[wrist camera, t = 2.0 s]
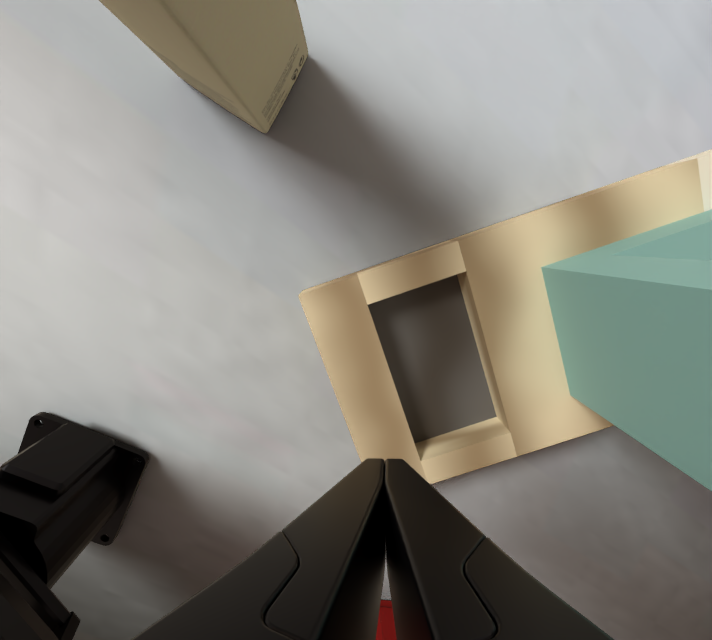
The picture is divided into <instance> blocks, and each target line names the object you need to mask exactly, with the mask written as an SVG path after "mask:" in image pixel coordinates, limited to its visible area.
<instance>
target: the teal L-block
mask: <svg viewBox="0 0 712 640" xmlns="http://www.w3.org/2000/svg"><path fill="white" fill-rule="evenodd" d="M541 269H542V273H543V278H544V282H545V287H546V291H547V295H548V300H549V304H550V308H551V313H552V317H553V322H554V326H555V330H556V335H557V339H558V343H559V348H560V352H561V357H562V361H563V365H564V370H565V374H566V378H567V383H568V387H569V392H570V395H571V396H572V397H574V398H575V399H577V400H578V401H580V402H581V403H583V404H584V405H585V406H587V407H588V408H590V409H591V410H593V411H594V412H596V413H597V414H599V415H600V416H602V417H603V418H605V419H606V420H607V421H609V422H610V423H612V424H613V425H615V426H616V427H618V428H619V429H621V430H622V431H624V432H625V433H627V434H628V435H630V436H631V437H632V438H634V439H635V440H637V441H638V442H640V443H641V444H643V445H644V446H646V447H647V448H649V449H650V450H652V451H653V452H655V453H656V454H657V455H659V456H660V457H662V458H663V459H665V460H666V461H668V462H669V463H671V464H672V465H674V466H675V467H677V468H678V469H680V470H681V471H682V472H684V473H685V474H687V475H688V476H690V477H691V478H693V479H694V480H696V481H697V482H699V483H700V484H702V485H703V486H704V487H706V488H707V489H709V490H710V491H712V209H711V210H708V211H705V212H702V213H699V214H696V215H693V216H690V217H688V218H685V219H682V220H679V221H676V222H673V223H670V224H667V225H664V226H661V227H658V228H655V229H652V230H649V231H646V232H643V233H640V234H637V235H634V236H631V237H629V238H626V239H623V240H620V241H617V242H614V243H611V244H608V245H605V246H602V247H599V248H596V249H593V250H590V251H587V252H584V253H581V254H578V255H575V256H572V257H570V258H567V259H564V260H561V261H558V262H555V263H552V264H549V265H546V266H543V267H541Z"/></svg>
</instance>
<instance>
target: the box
mask: <svg viewBox="0 0 712 640" xmlns="http://www.w3.org/2000/svg"><path fill="white" fill-rule="evenodd" d="M99 1H100V2H101V3H102V4H103V5H104V6H105V7H106V8H108V9H109V10H110V11H111V12H112V13H113V14H114V15H115V16H116V17H117V18H118V19H119V20H120V21H121V22H122V23H123V24H124V25H125V26H127V27H128V28H129V29H130V30H131V31H132V32H133V33H134V34H135V35H136V36H137V37H138V38H139V39H140V40H141V41H142V42H143V43H144V44H145V45H146V46H147V47H149V48H150V49H151V50H152V51H153V52H154V53H155V54H156V55H157V56H158V57H159V58H160V59H161V60H162V61H163V62H164V63H165V64H166V65H167V66H168V67H169V68H170V69H171V70H172V71H174V72H175V73H176V74H177V75H178V76H179V77H180V78H182V79H183V80H184V81H186V82H187V83H188V84H190V85H191V86H193V87H194V88H195V89H197V90H198V91H200V92H201V93H202V94H204V95H205V96H207V97H208V98H210V99H211V100H213V101H214V102H216V103H217V104H219V105H220V106H222V107H223V108H225V109H226V110H228V111H229V112H231V113H232V114H234V115H235V116H237V117H239V118H240V119H242V120H243V121H245V122H246V123H248V124H249V125H251V126H253V127H254V128H256V129H257V130H259V131H261V132H262V133H267V132H268V131H269V129H270V127H271V125H272V123H273V122H274V120H275V118H276V116H277V115H278V113H279V111H280V109H281V107H282V105H283V103H284V102H285V100H286V98H287V96H288V94H289V92H290V90H291V88H292V86H293V84H294V82H295V81H296V79H297V77H298V75H299V73H300V71H301V69H302V66H303V64H304V62H305V60H306V58H307V56H308V48H307V44H306V39H305V35H304V31H303V27H302V22H301V18H300V14H299V10H298V6H297V2H296V0H99Z"/></svg>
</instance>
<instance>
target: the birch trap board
mask: <svg viewBox="0 0 712 640" xmlns="http://www.w3.org/2000/svg"><path fill="white" fill-rule="evenodd" d="M702 212H704V206H703V199H702V191H701V183H700V175H699V167H698V160H697V158H696V159H692V160H688V161H684V162H679V163H675V164H671V165H667V166H662V167H659V168H656V169H653V170H650V171H647V172H644V173H642V174H639V175H636V176H633V177H630V178H627V179H624V180H621V181H618V182H615V183H613V184H610V185H607V186H604V187H601V188H598V189H595V190H592V191H589V192H586V193H584V194H581V195H578V196H575V197H572V198H569V199H566V200H563V201H560V202H557V203H555V204H552V205H549V206H546V207H543V208H540V209H537V210H534V211H531V212H529V213H526V214H523V215H520V216H517V217H514V218H511V219H508V220H505V221H502V222H500V223H497V224H494V225H491V226H488V227H485V228H482V229H479V230H476V231H473V232H471V233H468V234H465V235H462V236H459V237H456V238H453V239H450V240H447V241H444V242H442V243H439V244H436V245H433V246H430V247H427V248H424V249H421V250H418V251H416V252H413V253H410V254H407V255H404V256H401V257H398V258H395V259H392V260H389V261H387V262H384V263H381V264H378V265H375V266H372V267H369V268H366V269H363V270H360V271H358V272H355V273H352V274H349V275H346V276H343V277H340V278H337V279H334V280H331V281H329V282H326V283H323V284H320V285H317V286H314V287H311V288H308V289H305V290H303V291H302V292H301V293H300V294H299V299H300V302H301V304H302V307H303V310H304V312H305V315H306V317H307V320H308V323H309V325H310V328H311V331H312V333H313V336H314V339H315V341H316V344H317V347H318V349H319V352H320V354H321V357H322V360H323V362H324V365H325V368H326V370H327V373H328V376H329V378H330V381H331V384H332V386H333V389H334V391H335V394H336V397H337V399H338V402H339V405H340V407H341V410H342V413H343V415H344V418H345V421H346V423H347V426H348V428H349V431H350V434H351V436H352V439H353V442H354V444H355V447H356V450H357V452H358V455H359V457H360V460H361V463H362V462H363V461H364V460H366V459H368V458H382V459H384V461H385V460H386V459H388V458H393V459H403V460H405V461H406V462H407V463H408V464H409V465H410V466H411V467H412V468H413V469H414V470H415V471H416V472H417V473H419V474H420V475H421V476H422V477H423V478H424V479H425V480H426V481H427V482H428V483H429V484H433V483H436V482H439V481H442V480H445V479H448V478H451V477H454V476H458V475H461V474H464V473H467V472H470V471H473V470H476V469H479V468H483V467H486V466H489V465H492V464H495V463H498V462H501V461H504V460H508V459H511V458H514V457H517V456H520V455H523V454H526V453H529V452H533V451H536V450H539V449H542V448H545V447H548V446H551V445H554V444H558V443H561V442H564V441H567V440H570V439H573V438H576V437H579V436H583V435H586V434H589V433H592V432H595V431H598V430H601V429H604V428H608V427H611V426H614V425H613V424H612V423H610V422H609V421H607V420H606V419H605V418H603V417H602V416H600V415H599V414H597V413H596V412H594V411H593V410H591V409H590V408H588V407H587V406H585V405H584V404H583V403H581V402H580V401H578V400H577V399H575V398H574V397H572V396H571V395H570V392H569V387H568V383H567V378H566V374H565V370H564V365H563V361H562V357H561V352H560V348H559V343H558V339H557V335H556V330H555V326H554V322H553V317H552V313H551V308H550V304H549V300H548V295H547V291H546V287H545V282H544V278H543V273H542V269H541V267H543V266H546V265H549V264H552V263H555V262H558V261H561V260H564V259H567V258H570V257H572V256H575V255H578V254H581V253H584V252H587V251H590V250H593V249H596V248H599V247H602V246H605V245H608V244H611V243H614V242H617V241H620V240H623V239H626V238H629V237H631V236H634V235H637V234H640V233H643V232H646V231H649V230H652V229H655V228H658V227H661V226H664V225H667V224H670V223H673V222H676V221H679V220H682V219H685V218H688V217H690V216H693V215H696V214H699V213H702Z"/></svg>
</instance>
